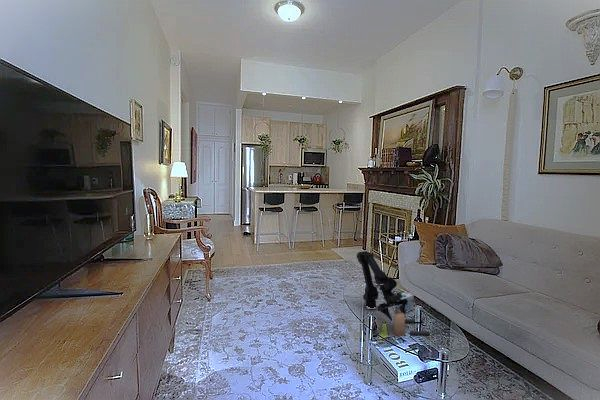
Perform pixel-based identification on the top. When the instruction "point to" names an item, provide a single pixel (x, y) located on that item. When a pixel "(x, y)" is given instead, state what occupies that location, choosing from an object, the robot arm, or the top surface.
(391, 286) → the robot arm
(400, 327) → the terracotta jar
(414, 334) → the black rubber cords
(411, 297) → the light bulb box
